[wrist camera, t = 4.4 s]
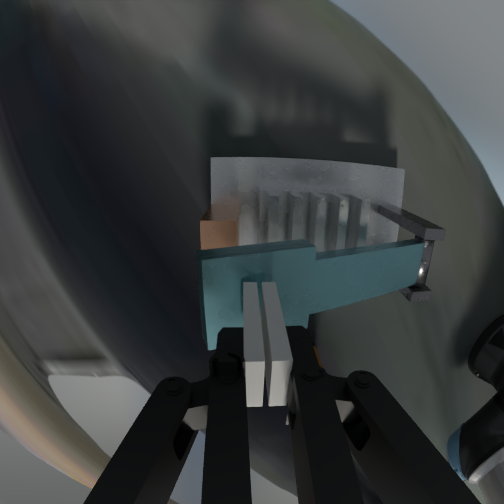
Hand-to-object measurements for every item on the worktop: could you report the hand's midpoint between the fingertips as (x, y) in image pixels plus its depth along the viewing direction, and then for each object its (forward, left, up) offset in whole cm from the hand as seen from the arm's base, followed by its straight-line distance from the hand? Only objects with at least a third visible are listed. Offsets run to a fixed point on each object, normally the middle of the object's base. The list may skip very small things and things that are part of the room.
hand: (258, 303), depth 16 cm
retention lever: (-6, 0, -5) cm, 8 cm away
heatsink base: (-6, 0, -18) cm, 19 cm away
